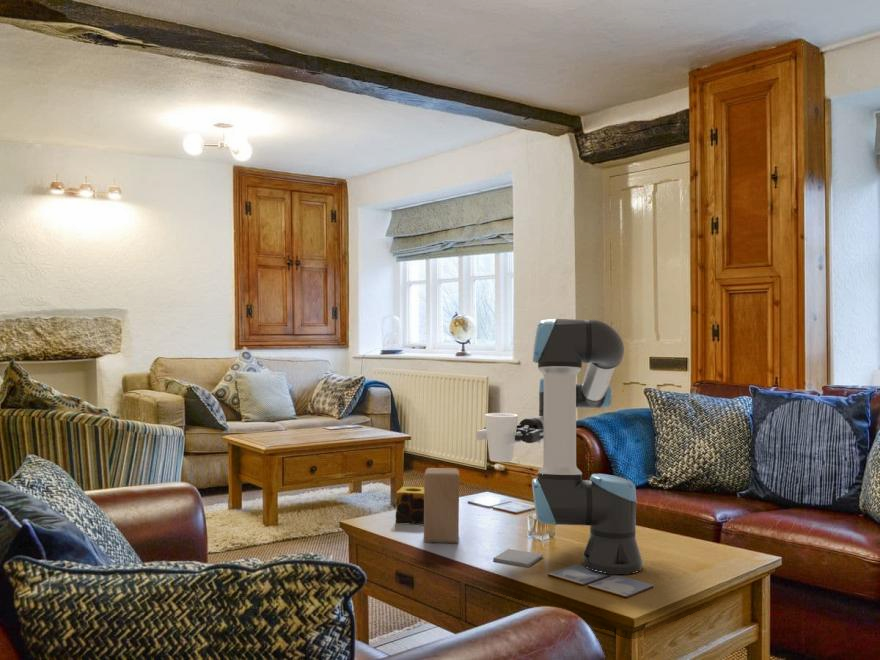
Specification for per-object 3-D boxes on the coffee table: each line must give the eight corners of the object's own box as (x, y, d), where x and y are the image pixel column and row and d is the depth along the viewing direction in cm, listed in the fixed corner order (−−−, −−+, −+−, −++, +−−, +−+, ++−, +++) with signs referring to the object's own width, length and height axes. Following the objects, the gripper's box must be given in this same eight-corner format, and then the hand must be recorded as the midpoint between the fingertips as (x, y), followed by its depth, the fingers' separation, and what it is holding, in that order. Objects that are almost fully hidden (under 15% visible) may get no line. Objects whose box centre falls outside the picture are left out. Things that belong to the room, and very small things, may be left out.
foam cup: (483, 462, 217) (483, 416, 217) (485, 457, 227) (485, 412, 227) (517, 463, 216) (517, 417, 216) (517, 457, 226) (518, 413, 225)
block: (458, 543, 221) (459, 474, 221) (423, 543, 221) (424, 473, 221) (458, 534, 231) (459, 467, 231) (424, 534, 231) (425, 467, 231)
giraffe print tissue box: (426, 525, 241) (426, 493, 241) (394, 523, 243) (395, 492, 243) (432, 517, 251) (432, 487, 251) (402, 516, 253) (402, 485, 253)
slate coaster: (542, 557, 209) (542, 554, 209) (528, 567, 200) (528, 563, 200) (508, 551, 214) (508, 548, 214) (493, 561, 205) (493, 558, 205)
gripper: (566, 445, 229) (525, 454, 211) (504, 438, 242) (460, 446, 225) (566, 420, 228) (525, 427, 211) (504, 414, 242) (461, 420, 225)
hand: (492, 437), depth 218 cm, fingers closed on foam cup, 9 cm apart
